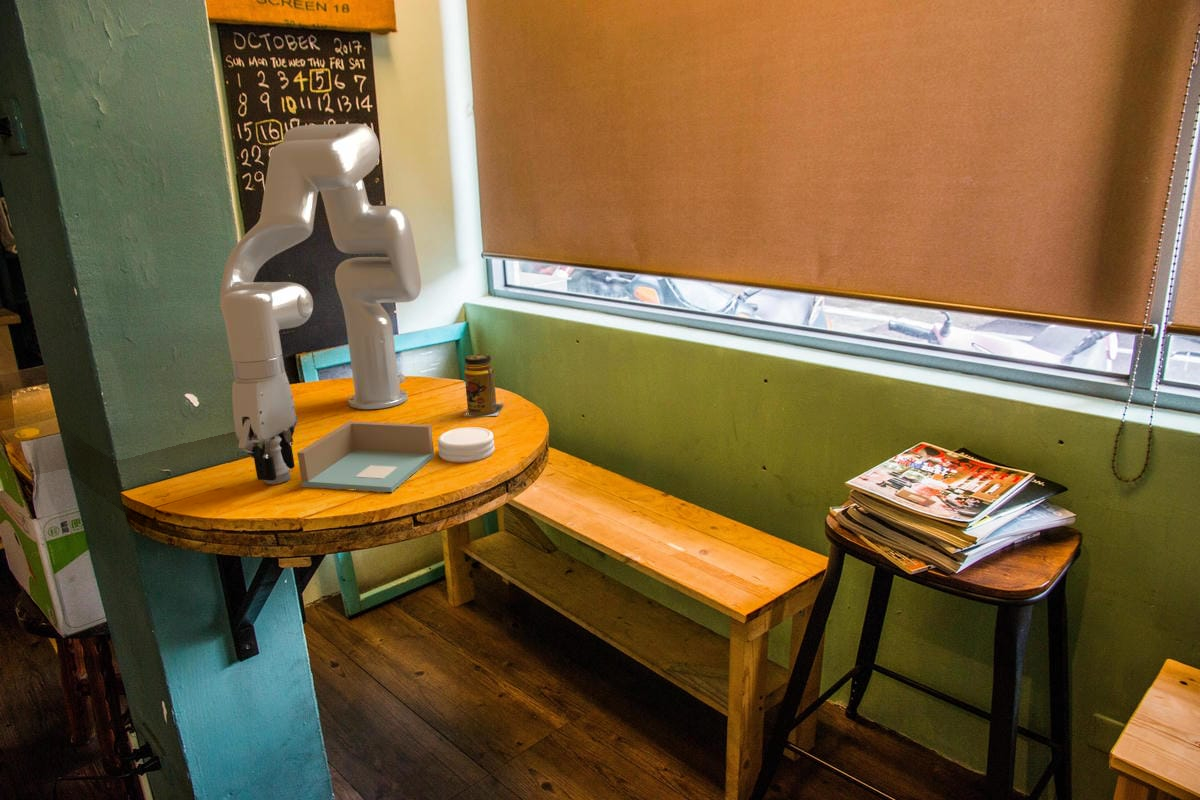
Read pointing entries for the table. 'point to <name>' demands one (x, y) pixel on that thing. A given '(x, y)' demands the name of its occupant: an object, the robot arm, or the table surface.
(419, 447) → the corner arena
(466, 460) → the white round container
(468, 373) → the condiment
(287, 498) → the table surface
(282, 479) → the rook chess piece
